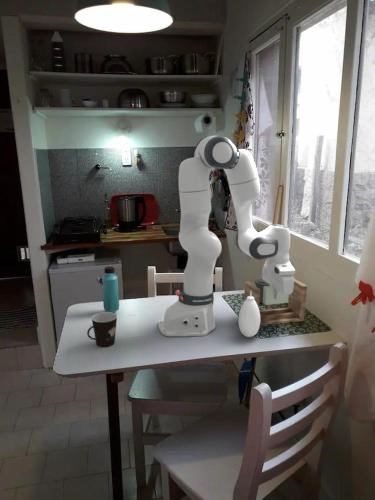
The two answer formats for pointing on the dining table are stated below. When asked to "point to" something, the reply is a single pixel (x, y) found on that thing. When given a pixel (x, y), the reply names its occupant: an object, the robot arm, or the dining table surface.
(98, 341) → the coffee mug
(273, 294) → the door panel
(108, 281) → the beverage bottle
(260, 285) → the coffee cup
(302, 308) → the track frame
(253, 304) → the sauce bottle
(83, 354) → the dining table surface
